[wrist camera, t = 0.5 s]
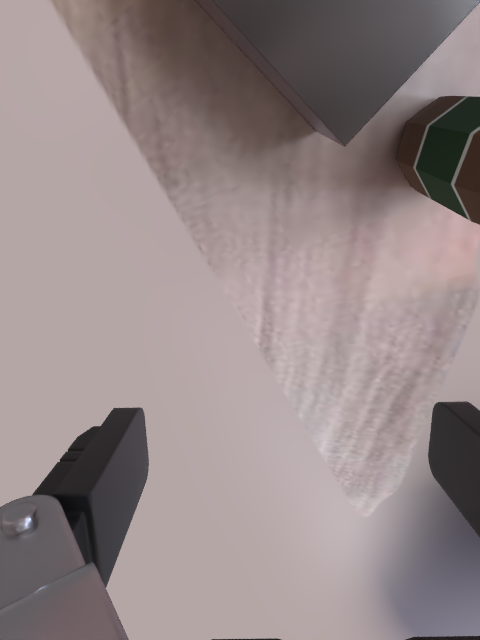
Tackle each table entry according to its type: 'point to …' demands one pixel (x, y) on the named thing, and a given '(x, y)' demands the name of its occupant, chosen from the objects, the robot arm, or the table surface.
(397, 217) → the table surface
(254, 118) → the table surface
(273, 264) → the table surface
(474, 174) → the beer bottle
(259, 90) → the table surface
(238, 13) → the cabinet
